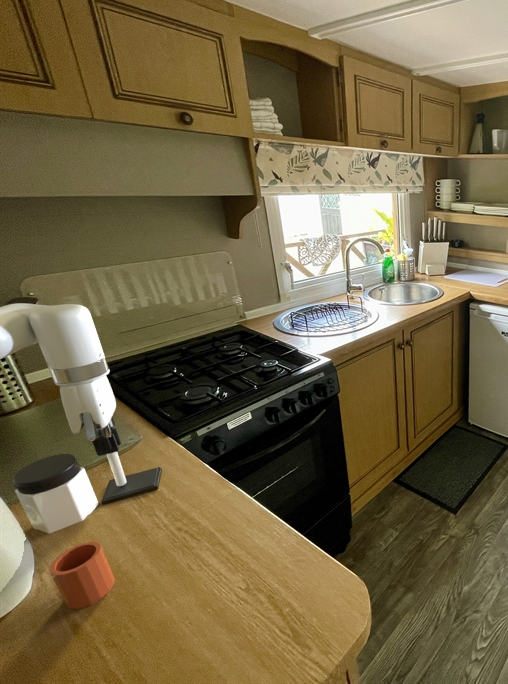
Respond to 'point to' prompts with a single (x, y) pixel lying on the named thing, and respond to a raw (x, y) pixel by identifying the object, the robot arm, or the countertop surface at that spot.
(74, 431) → the robot arm
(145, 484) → the tablet
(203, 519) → the countertop surface
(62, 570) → the pen pot
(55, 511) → the jar
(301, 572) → the countertop surface
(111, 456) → the stylus
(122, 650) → the countertop surface
